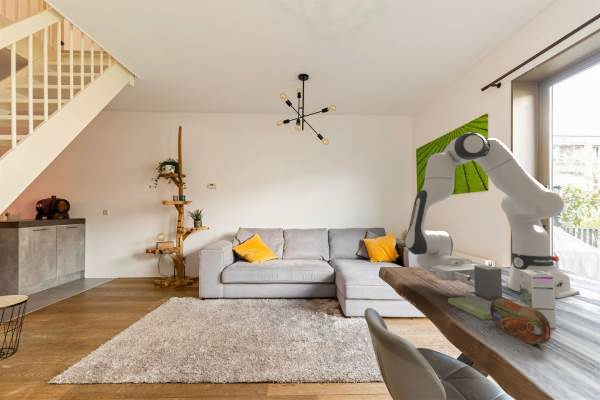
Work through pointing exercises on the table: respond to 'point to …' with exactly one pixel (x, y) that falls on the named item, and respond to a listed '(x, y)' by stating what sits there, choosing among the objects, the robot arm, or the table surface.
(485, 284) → the chute block
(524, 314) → the tin
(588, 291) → the table surface
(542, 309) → the syrup box
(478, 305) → the deck plate
